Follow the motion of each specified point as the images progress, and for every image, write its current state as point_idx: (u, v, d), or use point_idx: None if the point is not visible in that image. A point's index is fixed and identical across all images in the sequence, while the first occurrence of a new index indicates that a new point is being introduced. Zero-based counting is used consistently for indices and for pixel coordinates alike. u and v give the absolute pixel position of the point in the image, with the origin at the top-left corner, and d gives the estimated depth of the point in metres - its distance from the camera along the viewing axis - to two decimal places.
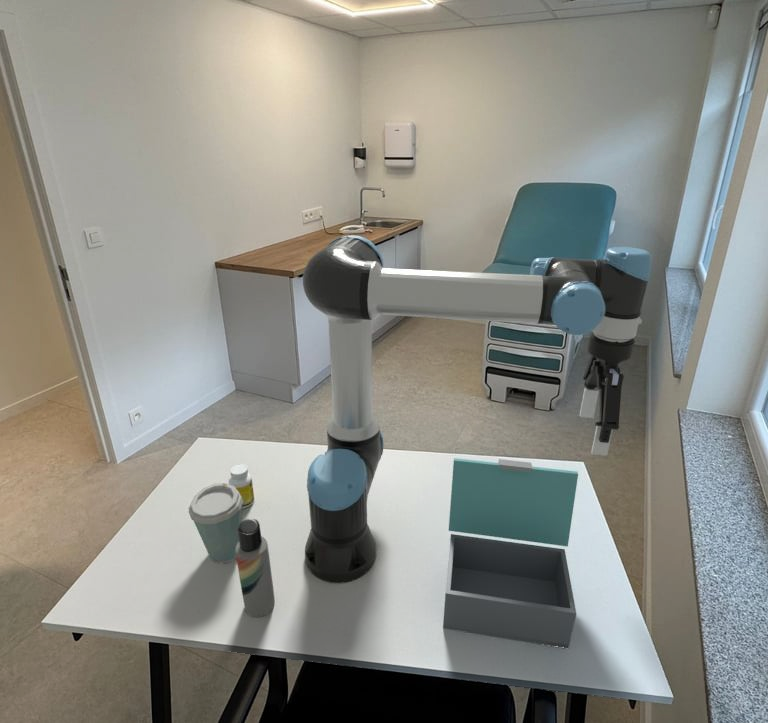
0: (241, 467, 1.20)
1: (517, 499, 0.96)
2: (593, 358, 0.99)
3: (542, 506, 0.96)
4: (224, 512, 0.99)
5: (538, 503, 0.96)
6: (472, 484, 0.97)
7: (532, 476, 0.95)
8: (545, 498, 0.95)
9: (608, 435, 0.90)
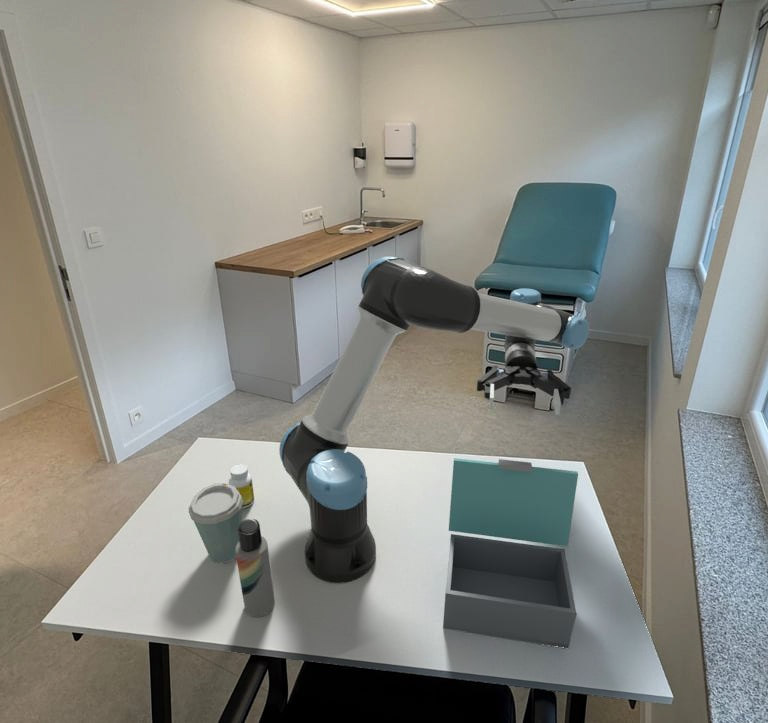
0: (241, 467, 1.20)
1: (517, 499, 0.96)
2: (496, 371, 1.18)
3: (542, 506, 0.96)
4: (224, 512, 0.99)
5: (538, 503, 0.96)
6: (472, 484, 0.97)
7: (532, 476, 0.95)
8: (545, 498, 0.95)
9: None
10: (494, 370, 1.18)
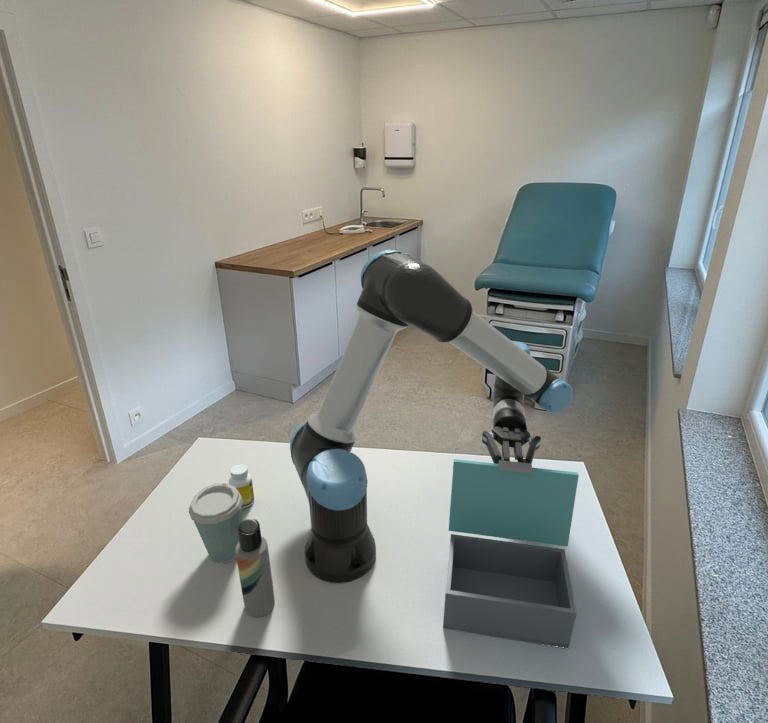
0: (241, 467, 1.20)
1: (517, 500, 0.96)
2: None
3: (542, 506, 0.96)
4: (224, 512, 0.99)
5: (538, 504, 0.96)
6: (472, 485, 0.97)
7: (532, 477, 0.94)
8: (545, 499, 0.95)
9: None
10: (491, 437, 1.10)
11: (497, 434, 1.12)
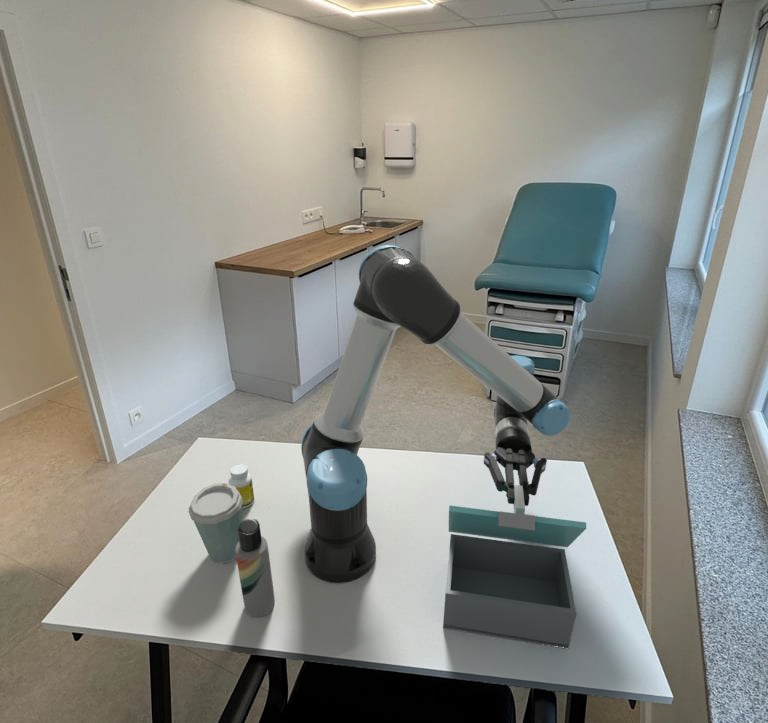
0: (241, 467, 1.20)
1: (518, 529, 0.92)
2: None
3: (543, 534, 0.91)
4: (224, 512, 0.99)
5: (540, 533, 0.91)
6: (470, 520, 0.91)
7: (535, 524, 0.87)
8: (548, 532, 0.90)
9: None
10: (493, 459, 1.03)
11: (500, 456, 1.05)
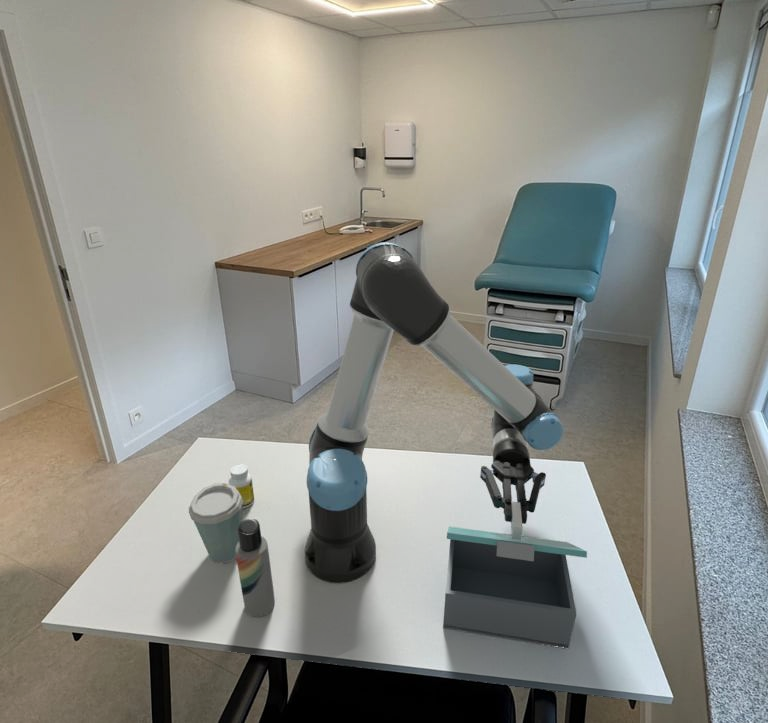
0: (241, 467, 1.20)
1: None
2: None
3: None
4: (224, 512, 0.99)
5: None
6: None
7: None
8: None
9: None
10: (490, 473, 0.99)
11: (497, 470, 1.01)
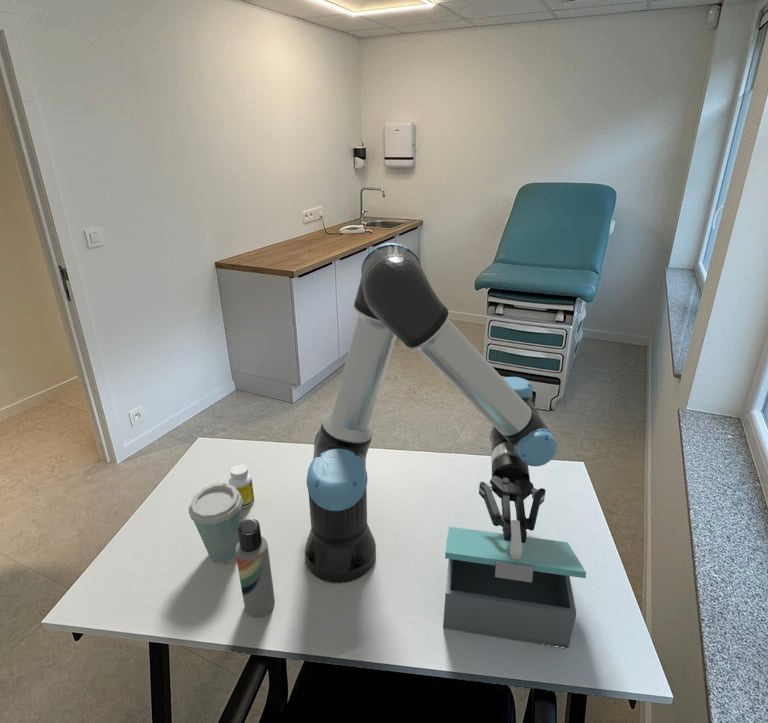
0: (241, 467, 1.20)
1: None
2: None
3: None
4: (224, 512, 0.99)
5: None
6: None
7: None
8: None
9: None
10: (489, 490, 0.97)
11: (496, 486, 0.99)
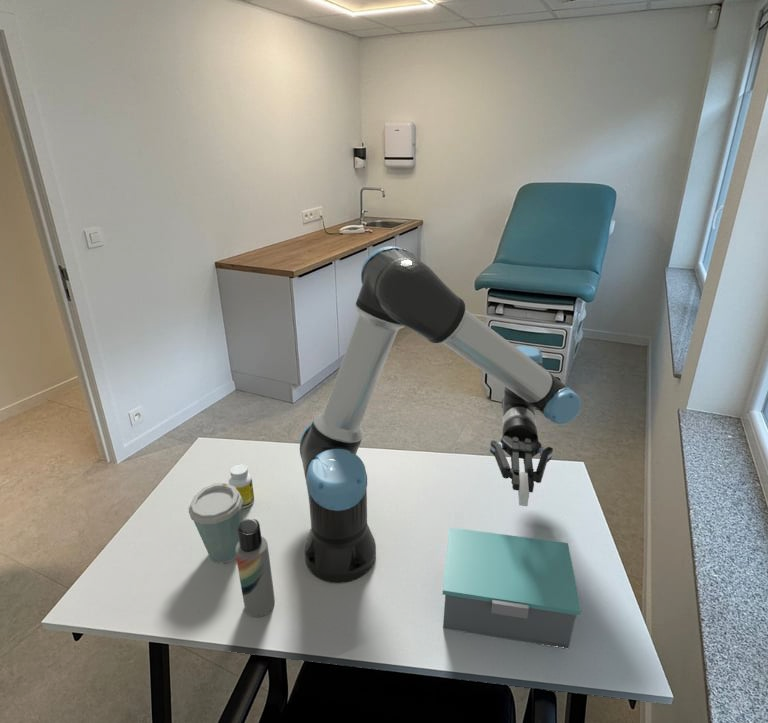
0: (241, 467, 1.20)
1: None
2: None
3: None
4: (224, 512, 0.99)
5: None
6: None
7: None
8: None
9: None
10: (499, 447, 1.04)
11: (506, 444, 1.05)
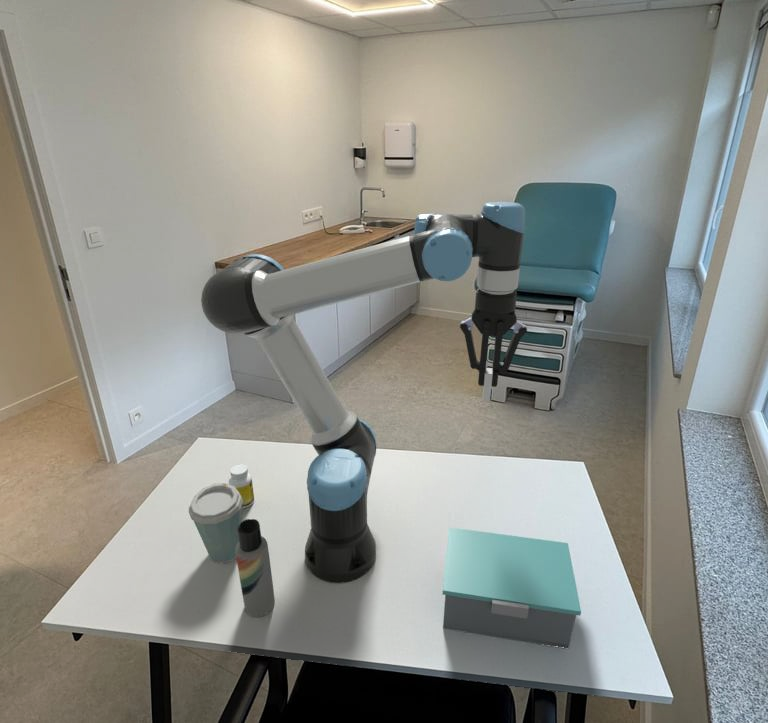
0: (241, 467, 1.20)
1: None
2: (470, 333, 0.97)
3: None
4: (224, 512, 0.99)
5: None
6: None
7: None
8: None
9: None
10: (469, 335, 0.97)
11: (477, 326, 0.97)
